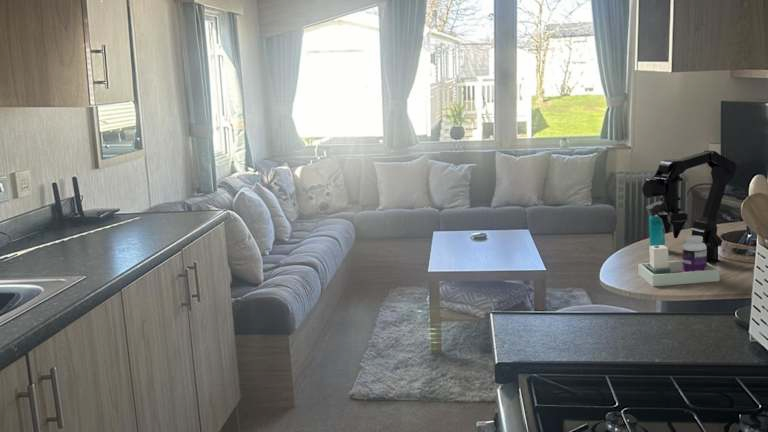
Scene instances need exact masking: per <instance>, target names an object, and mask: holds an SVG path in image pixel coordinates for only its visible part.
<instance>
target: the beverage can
mask: <svg viewBox="0 0 768 432" xmlns="http://www.w3.org/2000/svg"><path fill="white" fill-rule="evenodd" d="M648 218H649V219H648V220H649V221H648V222H649V224H648V225H649V246H654V245H664V246H666V245H665V244H666V243H665V242H666V241H665V240H666V238H665V237H666V236H665V234H666V233H665V230H664V227H663V224H662V221H661V218H659V217H658V216H657V215H655V216H651V215H649V217H648Z"/></svg>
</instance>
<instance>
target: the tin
mask: <svg viewBox="0 0 768 432" xmlns="http://www.w3.org/2000/svg"><path fill="white" fill-rule="evenodd" d="M646 269H648V270H649V271H650V272H651V273H653V274H654V275H655V274H667V273H672V272H671V267H670V266H669V267H666V268H653V267H652V266H651V265H650V264H647V265H646Z"/></svg>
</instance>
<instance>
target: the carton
mask: <svg viewBox="0 0 768 432" xmlns="http://www.w3.org/2000/svg"><path fill="white" fill-rule="evenodd" d="M648 248H649V249H648V250H649V263H650V265H651V266H652V267H653V268H666V267H669V264H668V262H669V247H667V246H666V245H665V246H664V245H654V246H650V245H649V247H648Z"/></svg>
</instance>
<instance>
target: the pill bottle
mask: <svg viewBox="0 0 768 432" xmlns="http://www.w3.org/2000/svg"><path fill="white" fill-rule="evenodd" d="M685 241H686V242H684V243H683V244H682V247H681V250H682V258H681V259H682V272H692V271H704V270H707V263H708V262H707V247H706V245H705V244H704V243H702V241H703V237H702V236H692V235H687V236H685Z"/></svg>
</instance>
